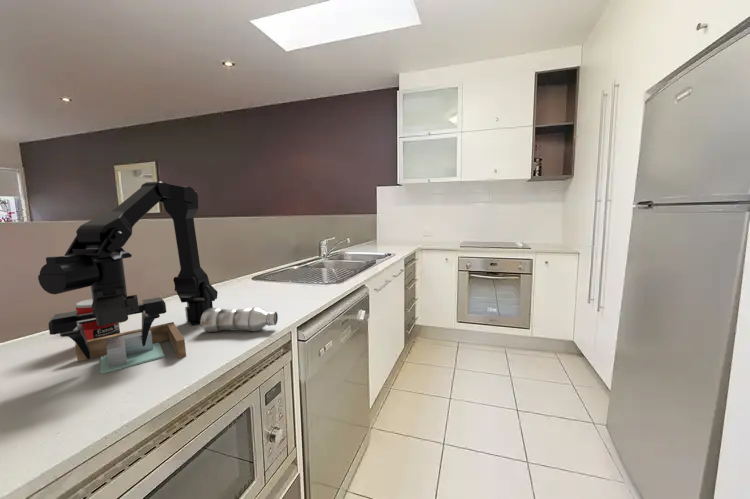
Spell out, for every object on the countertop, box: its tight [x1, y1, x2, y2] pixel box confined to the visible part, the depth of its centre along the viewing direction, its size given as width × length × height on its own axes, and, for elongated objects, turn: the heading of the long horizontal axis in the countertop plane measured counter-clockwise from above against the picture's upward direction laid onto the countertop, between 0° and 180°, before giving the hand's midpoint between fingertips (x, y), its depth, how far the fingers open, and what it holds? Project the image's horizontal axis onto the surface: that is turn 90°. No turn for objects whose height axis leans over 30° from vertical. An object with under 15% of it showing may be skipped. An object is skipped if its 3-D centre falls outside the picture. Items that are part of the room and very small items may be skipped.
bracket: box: [107, 330, 153, 368], centre depth 71 cm, size 8×8×4 cm
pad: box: [100, 342, 165, 375], centre depth 71 cm, size 11×10×1 cm
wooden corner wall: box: [74, 321, 187, 362], centre depth 71 cm, size 19×16×4 cm
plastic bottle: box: [200, 306, 279, 333], centre depth 86 cm, size 6×7×20 cm
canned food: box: [75, 298, 121, 340], centre depth 80 cm, size 8×8×11 cm
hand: (117, 352), depth 68 cm, fingers open, 9 cm apart
